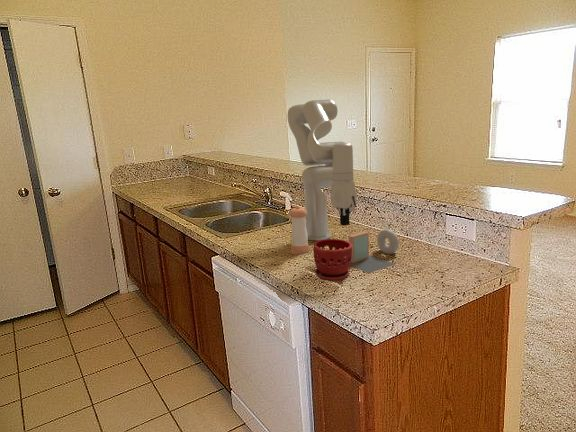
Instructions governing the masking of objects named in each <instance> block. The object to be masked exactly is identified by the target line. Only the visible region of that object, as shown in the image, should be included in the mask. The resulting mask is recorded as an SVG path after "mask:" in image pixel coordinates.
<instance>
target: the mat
mask: <svg viewBox="0 0 576 432" xmlns="http://www.w3.org/2000/svg"><path fill="white" fill-rule="evenodd" d="M395 265H396V263H393V262H391V261H387V260H385V259H382V258H379V257H375V256H373V255H370V254H369V258H367V259H364V260H361V261H358V262H355V263H350V266H349V267H352V268H354V269H358V270H360V271H362V272H365V273H367V274H370V273H373V272H377V271H380V270H382V269H383V270H384V269H386V268H389V267H392V266H395Z"/></svg>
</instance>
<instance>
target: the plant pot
mask: <svg viewBox="0 0 576 432" xmlns="http://www.w3.org/2000/svg"><path fill="white" fill-rule="evenodd" d="M325 247H328V249H326V248H325ZM312 248H313V260H314V264H315V266H316V267H315V268H316V269H315V271H314V272H315V273H314V274H315V275H316V277H317V278H318V279H320V280H321V281H325V282H336V281H341V280H344V279H346V278H348V277H349V275H350V270H349V269H350V267H351V266H350V263H351V258H352V244H351V243H350V242H349V241H348V240H344V239H336V238H335V239H334V238H329V239H325V240H316V241H315V242H314V243H313V247H312Z"/></svg>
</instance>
